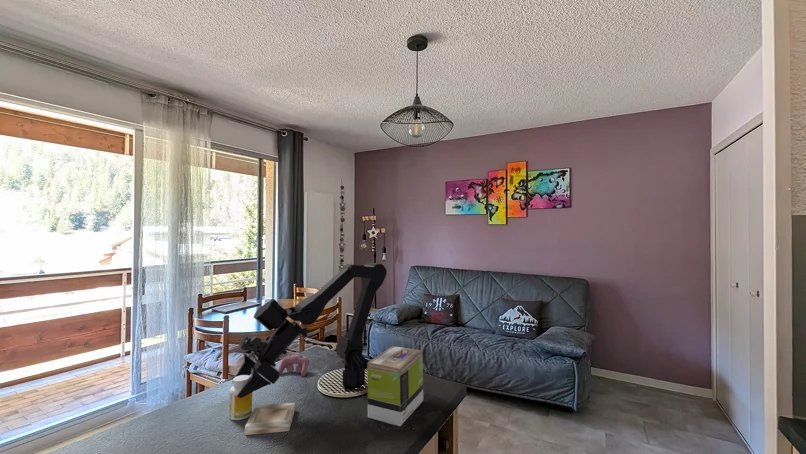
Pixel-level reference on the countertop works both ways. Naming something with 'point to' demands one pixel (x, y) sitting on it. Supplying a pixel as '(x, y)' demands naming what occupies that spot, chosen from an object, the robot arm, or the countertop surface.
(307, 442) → the countertop surface
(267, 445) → the countertop surface
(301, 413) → the countertop surface
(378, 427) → the countertop surface
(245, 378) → the supplement bottle
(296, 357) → the pink legged piece
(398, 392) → the tea box
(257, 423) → the recess plate
